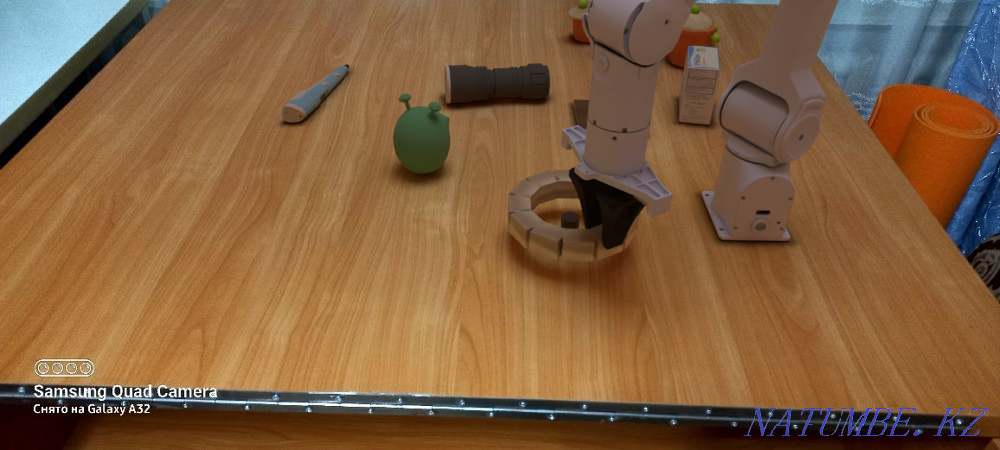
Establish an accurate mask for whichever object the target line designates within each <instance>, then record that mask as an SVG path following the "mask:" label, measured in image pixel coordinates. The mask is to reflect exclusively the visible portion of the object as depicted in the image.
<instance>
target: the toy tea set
mask: <svg viewBox="0 0 1000 450" xmlns="http://www.w3.org/2000/svg"><path fill="white" fill-rule="evenodd" d="M577 5H578V6H575V7H572V8H571V9H569V10H568V11H567V14H566V15H567V17H568V18H570V19H571V21H572V22H571V23H572V35H573V38H574V40H576V41H578V42H580V43H586V44H590V41H589V39H588V37H587V36H586V34H585V32H584V30H583V26H582V15H583V14H585V13H586V12H587V10H588V1H586V0H579V1H578V3H577ZM690 10H691V13H690V15H689V18H688V20H687V21H686V22H685V23H684V25H683V28H682V31H681V35H680V37H679V40H678V42H677V44H676V45H675V47H674V49H673V50H672V51H671V52H670V53H668V56H667V57H668V61H669V63H671V64H672V65H674V66H676V67H678V68H683V69H684V66H685V60H686V54H687V49H688V47H689V46H704V47H711V44H712V43H713V44H719V43H720V42H721V39H722V37H721V35H720V34H718V33H717V32H718V31H719V26H718V24H715V22H714V21H713V20H712V19H711V18H710V17H709V16H708V15H707V14H706V13H704V12H702V11H701V8H700V6H699V5H698V4H693V5H692V6H691V7H690Z"/></svg>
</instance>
